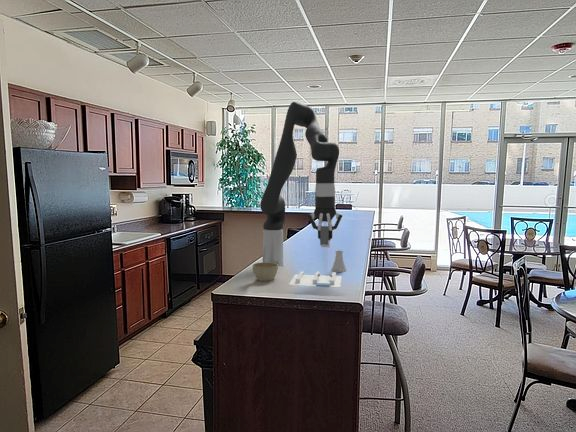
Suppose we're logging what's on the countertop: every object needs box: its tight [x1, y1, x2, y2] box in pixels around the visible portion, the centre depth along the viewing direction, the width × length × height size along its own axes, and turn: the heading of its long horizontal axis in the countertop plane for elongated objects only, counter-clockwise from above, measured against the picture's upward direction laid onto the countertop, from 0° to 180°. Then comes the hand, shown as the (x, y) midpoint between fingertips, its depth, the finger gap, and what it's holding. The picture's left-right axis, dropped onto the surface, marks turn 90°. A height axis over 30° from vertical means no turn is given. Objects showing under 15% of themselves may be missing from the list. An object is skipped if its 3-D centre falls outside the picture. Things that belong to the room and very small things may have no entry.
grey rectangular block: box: [319, 225, 331, 248], centre depth 153 cm, size 3×9×7 cm, turn 170°
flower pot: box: [252, 261, 279, 282], centre depth 155 cm, size 10×10×7 cm
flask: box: [330, 249, 348, 273], centre depth 169 cm, size 7×7×10 cm
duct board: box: [288, 270, 342, 288], centre depth 153 cm, size 19×16×4 cm
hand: (325, 239), depth 152 cm, fingers closed on grey rectangular block, 2 cm apart
